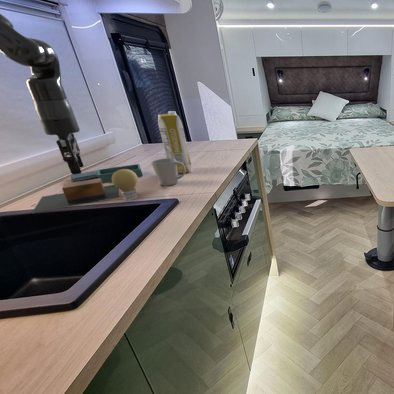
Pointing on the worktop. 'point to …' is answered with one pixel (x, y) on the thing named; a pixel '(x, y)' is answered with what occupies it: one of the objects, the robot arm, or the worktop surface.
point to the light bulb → (126, 183)
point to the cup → (167, 171)
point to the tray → (107, 173)
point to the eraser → (84, 190)
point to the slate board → (61, 202)
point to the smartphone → (84, 176)
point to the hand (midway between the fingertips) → (78, 170)
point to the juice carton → (174, 140)
